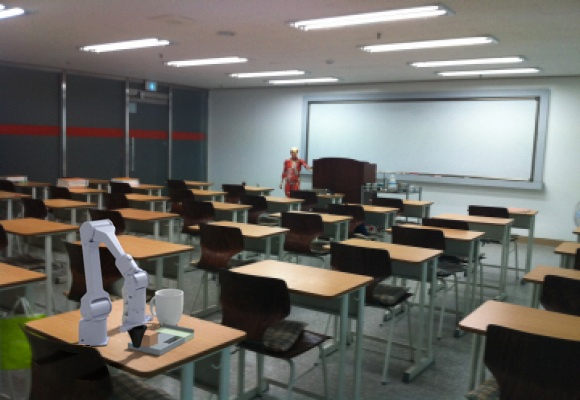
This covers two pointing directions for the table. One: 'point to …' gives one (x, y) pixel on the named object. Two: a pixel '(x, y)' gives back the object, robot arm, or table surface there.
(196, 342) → the table surface
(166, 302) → the mug
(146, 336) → the block
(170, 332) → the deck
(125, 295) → the plastic bottle
